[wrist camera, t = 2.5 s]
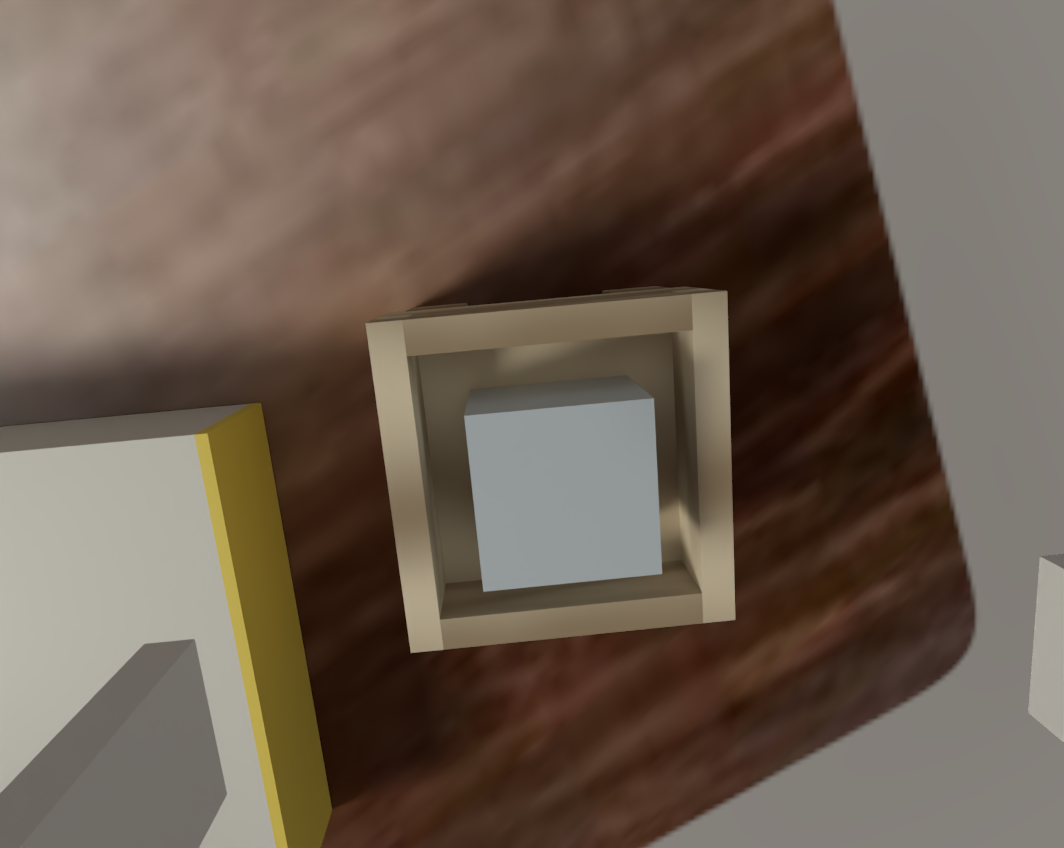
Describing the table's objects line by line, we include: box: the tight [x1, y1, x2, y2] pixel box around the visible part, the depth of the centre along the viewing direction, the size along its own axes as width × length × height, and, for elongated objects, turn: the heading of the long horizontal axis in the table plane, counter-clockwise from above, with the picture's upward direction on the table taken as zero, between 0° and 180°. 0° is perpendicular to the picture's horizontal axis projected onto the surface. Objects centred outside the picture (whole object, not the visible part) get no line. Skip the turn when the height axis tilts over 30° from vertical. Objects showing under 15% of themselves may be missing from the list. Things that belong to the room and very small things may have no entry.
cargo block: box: [464, 375, 662, 592], centre depth 21 cm, size 5×5×4 cm
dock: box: [0, 403, 332, 848], centre depth 26 cm, size 18×16×5 cm
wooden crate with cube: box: [365, 286, 735, 653], centre depth 24 cm, size 10×10×7 cm
